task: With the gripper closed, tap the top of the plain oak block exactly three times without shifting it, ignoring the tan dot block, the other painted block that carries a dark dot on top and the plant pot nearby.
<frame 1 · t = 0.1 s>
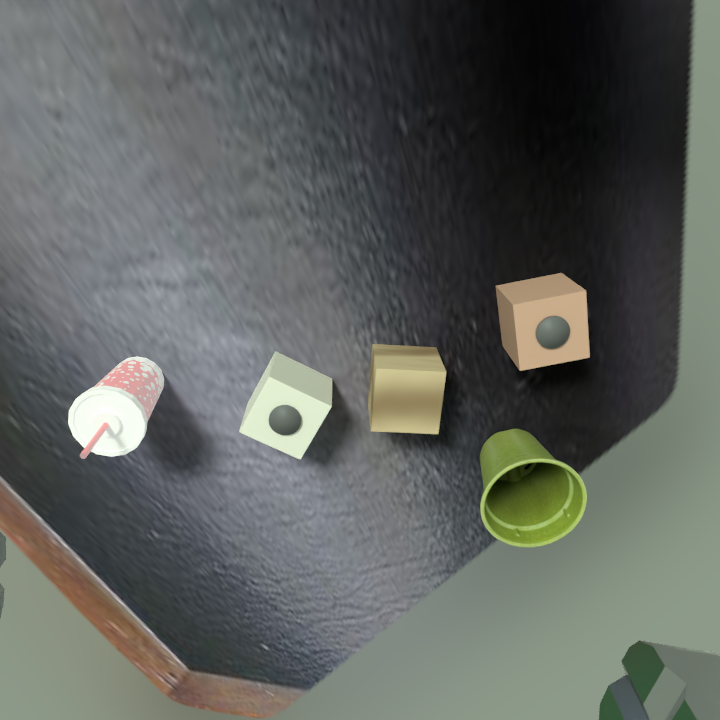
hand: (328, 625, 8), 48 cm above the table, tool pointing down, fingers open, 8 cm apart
oak block: (401, 374, 59), on the table
beverage cup: (140, 378, 58), on the table
dot block tan: (531, 310, 57), on the table
dot block cream: (290, 390, 59), on the table
plant pot: (508, 453, 63), on the table
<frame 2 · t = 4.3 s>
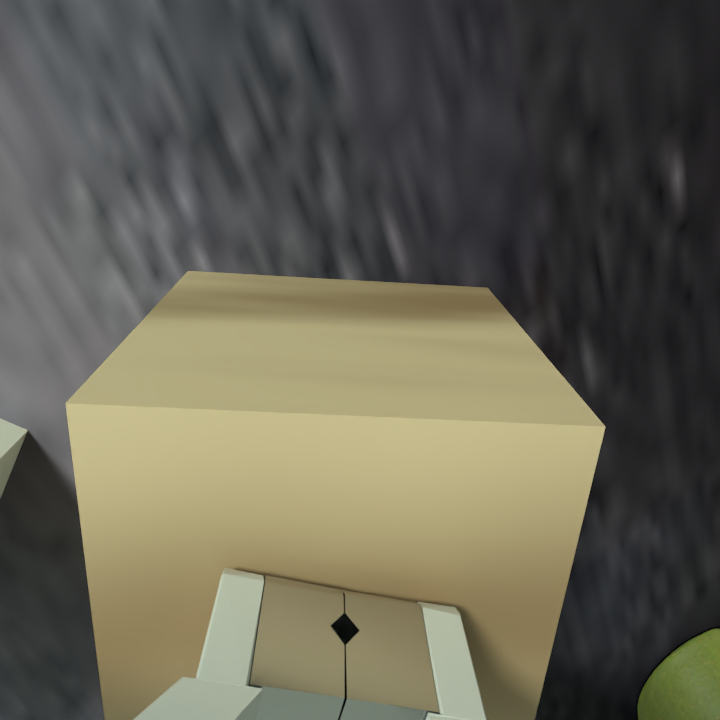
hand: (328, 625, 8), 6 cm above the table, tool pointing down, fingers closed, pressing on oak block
oak block: (332, 412, 14), on the table, touching gripper
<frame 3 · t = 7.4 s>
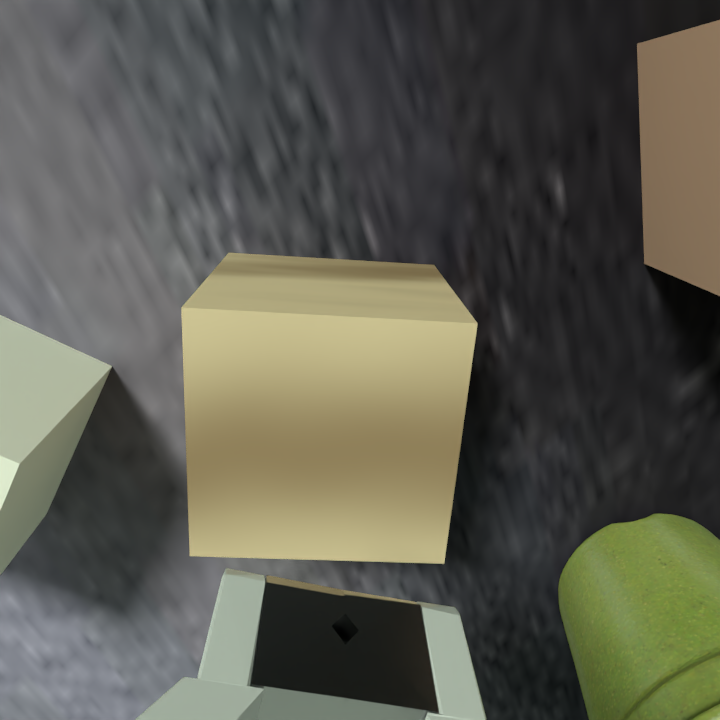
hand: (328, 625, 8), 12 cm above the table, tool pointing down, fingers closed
oak block: (327, 354, 19), on the table
plant pot: (634, 578, 23), on the table
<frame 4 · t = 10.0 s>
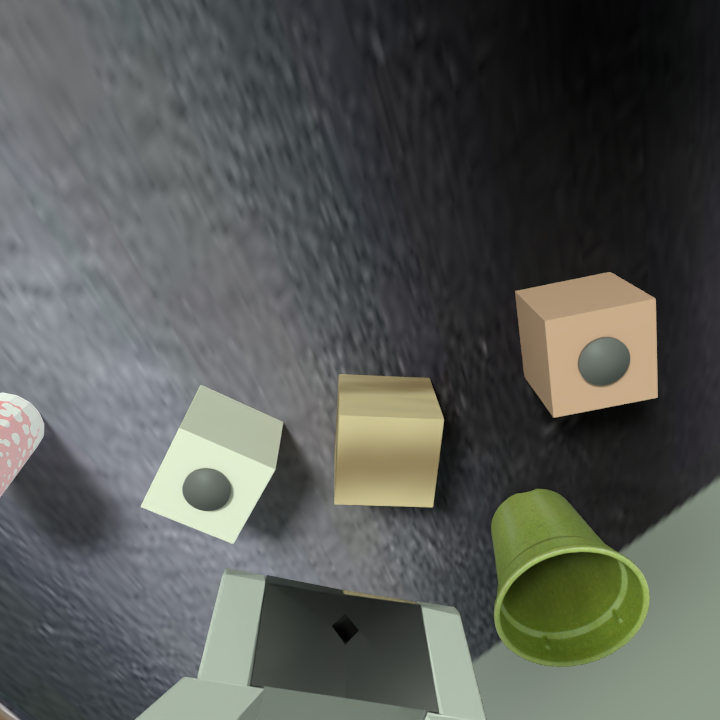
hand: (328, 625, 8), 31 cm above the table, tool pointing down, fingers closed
oak block: (380, 416, 42), on the table
beverage cup: (10, 422, 41), on the table
dot block tan: (565, 325, 40), on the table
dot block cream: (224, 438, 42), on the table
plant pot: (530, 521, 46), on the table
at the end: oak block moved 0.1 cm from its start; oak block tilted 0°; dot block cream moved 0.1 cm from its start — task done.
